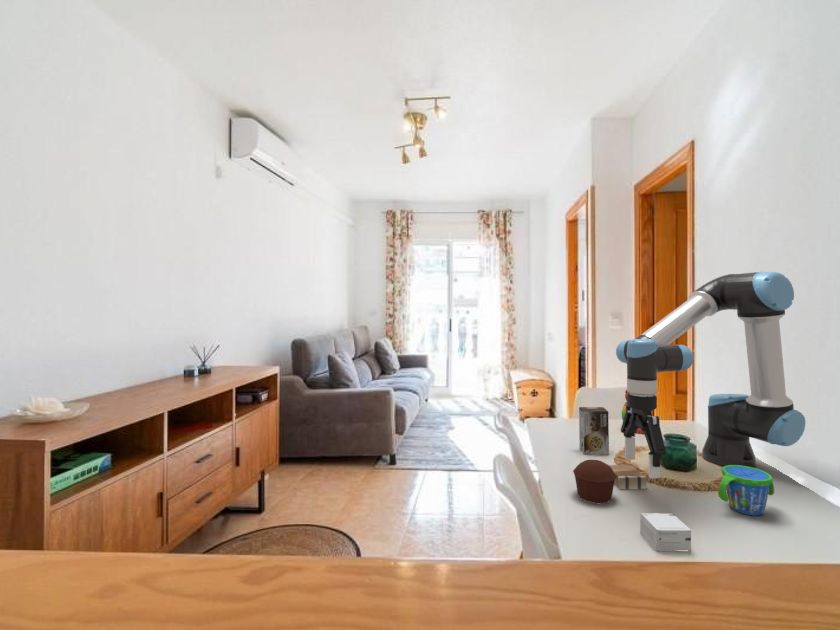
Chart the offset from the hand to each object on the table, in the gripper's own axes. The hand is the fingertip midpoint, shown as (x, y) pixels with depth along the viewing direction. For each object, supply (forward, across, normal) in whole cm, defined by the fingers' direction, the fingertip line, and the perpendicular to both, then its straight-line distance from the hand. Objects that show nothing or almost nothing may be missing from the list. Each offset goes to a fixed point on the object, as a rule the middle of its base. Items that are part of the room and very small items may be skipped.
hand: (641, 468), depth 122 cm
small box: (+9, -23, +6) cm, 25 cm away
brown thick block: (+6, +5, 0) cm, 8 cm away
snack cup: (+8, -8, -24) cm, 26 cm away
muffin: (+8, 0, +13) cm, 16 cm away
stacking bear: (+8, +63, -29) cm, 69 cm away
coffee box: (+8, +37, -1) cm, 38 cm away
